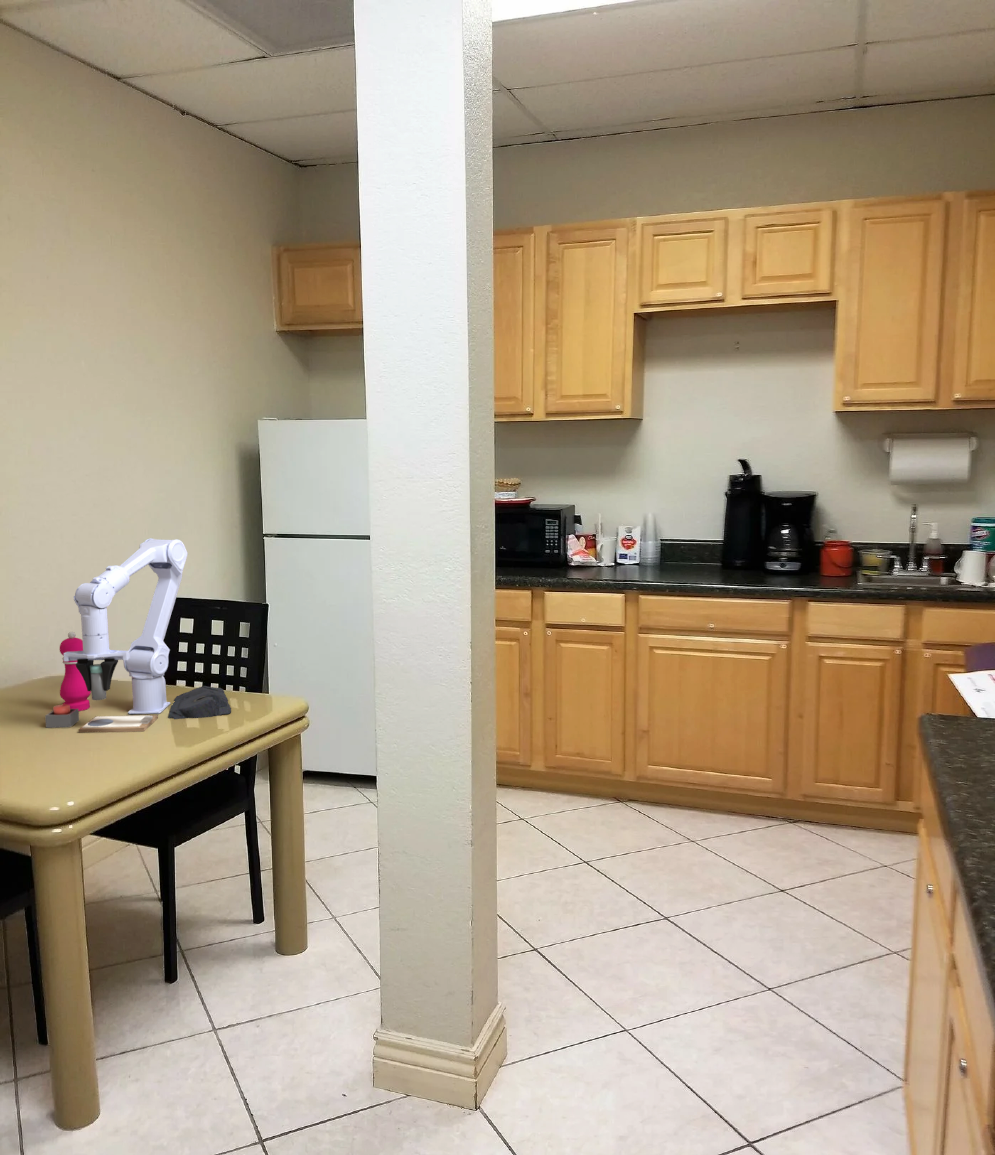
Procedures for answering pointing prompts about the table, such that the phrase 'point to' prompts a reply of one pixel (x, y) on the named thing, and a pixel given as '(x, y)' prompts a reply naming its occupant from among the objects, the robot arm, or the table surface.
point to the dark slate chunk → (200, 704)
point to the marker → (97, 682)
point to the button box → (62, 719)
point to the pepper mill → (73, 677)
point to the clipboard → (118, 723)
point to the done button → (61, 709)
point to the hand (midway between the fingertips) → (98, 690)
